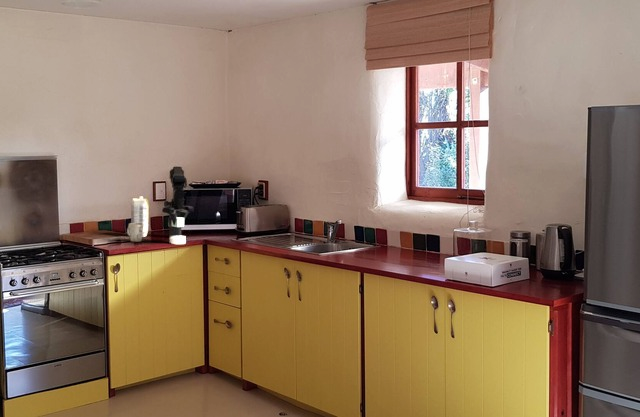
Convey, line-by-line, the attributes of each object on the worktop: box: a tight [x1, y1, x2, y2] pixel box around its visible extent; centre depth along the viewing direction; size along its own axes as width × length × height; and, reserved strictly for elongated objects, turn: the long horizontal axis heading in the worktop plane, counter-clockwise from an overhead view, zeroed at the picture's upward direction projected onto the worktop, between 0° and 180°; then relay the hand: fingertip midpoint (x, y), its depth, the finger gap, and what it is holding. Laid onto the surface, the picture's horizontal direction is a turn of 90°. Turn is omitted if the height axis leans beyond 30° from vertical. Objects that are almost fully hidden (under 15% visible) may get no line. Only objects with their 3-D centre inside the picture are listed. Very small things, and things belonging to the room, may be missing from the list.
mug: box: [126, 222, 144, 243], centre depth 430 cm, size 8×13×10 cm, turn 53°
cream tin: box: [169, 234, 187, 245], centre depth 428 cm, size 9×9×4 cm
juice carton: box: [130, 195, 149, 238], centre depth 446 cm, size 9×8×24 cm
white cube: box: [172, 217, 185, 228], centre depth 427 cm, size 5×5×5 cm
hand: (177, 224), depth 427 cm, fingers closed on white cube, 5 cm apart
